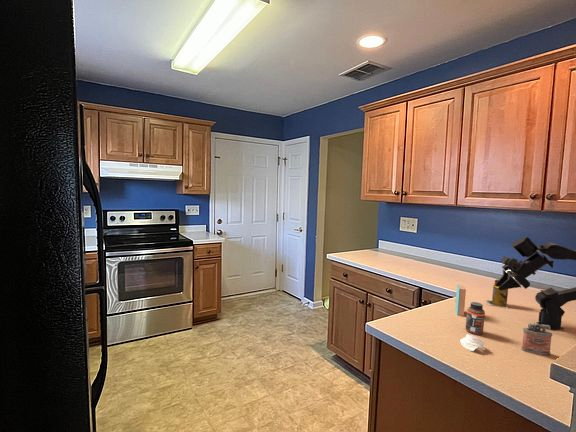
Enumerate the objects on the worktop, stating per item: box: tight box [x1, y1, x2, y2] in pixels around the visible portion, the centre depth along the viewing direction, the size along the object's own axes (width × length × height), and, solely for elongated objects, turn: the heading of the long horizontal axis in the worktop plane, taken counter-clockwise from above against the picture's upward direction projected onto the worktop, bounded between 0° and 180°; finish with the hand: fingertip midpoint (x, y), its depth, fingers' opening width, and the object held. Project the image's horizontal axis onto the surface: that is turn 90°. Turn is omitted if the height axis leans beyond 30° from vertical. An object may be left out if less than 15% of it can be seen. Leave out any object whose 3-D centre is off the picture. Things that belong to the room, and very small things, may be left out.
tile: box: [454, 283, 467, 317], centre depth 141 cm, size 2×7×12 cm, turn 159°
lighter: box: [520, 322, 553, 357], centre depth 108 cm, size 8×3×10 cm, turn 69°
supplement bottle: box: [465, 301, 486, 335], centre depth 123 cm, size 6×6×11 cm
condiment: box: [486, 279, 509, 309], centre depth 154 cm, size 7×8×12 cm
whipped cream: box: [460, 333, 486, 352], centre depth 111 cm, size 8×7×5 cm
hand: (497, 287), depth 136 cm, fingers open, 5 cm apart
